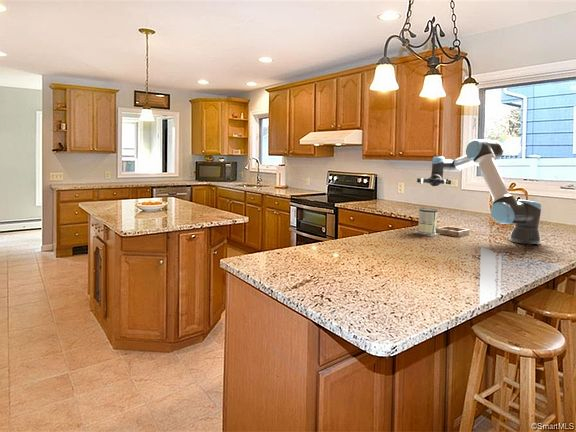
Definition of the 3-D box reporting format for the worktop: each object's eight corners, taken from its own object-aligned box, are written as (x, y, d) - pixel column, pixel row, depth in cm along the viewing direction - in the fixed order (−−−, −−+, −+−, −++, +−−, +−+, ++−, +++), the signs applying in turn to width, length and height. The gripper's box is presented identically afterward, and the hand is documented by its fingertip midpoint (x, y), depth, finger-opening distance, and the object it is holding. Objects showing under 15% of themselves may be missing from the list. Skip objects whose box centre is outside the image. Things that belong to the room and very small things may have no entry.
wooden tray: (469, 234, 249) (469, 229, 248) (458, 236, 239) (459, 231, 239) (446, 230, 259) (446, 225, 259) (435, 232, 249) (435, 228, 249)
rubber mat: (441, 234, 246) (441, 233, 246) (431, 236, 238) (431, 235, 237) (422, 231, 254) (422, 230, 254) (412, 232, 246) (412, 232, 246)
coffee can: (415, 230, 252) (417, 207, 249) (433, 231, 250) (435, 208, 248) (419, 233, 241) (421, 209, 239) (437, 235, 240) (439, 210, 238)
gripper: (455, 187, 269) (454, 189, 250) (415, 184, 279) (411, 186, 260) (456, 175, 268) (455, 176, 249) (416, 173, 278) (412, 174, 259)
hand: (432, 181), depth 254 cm, fingers open, 13 cm apart
